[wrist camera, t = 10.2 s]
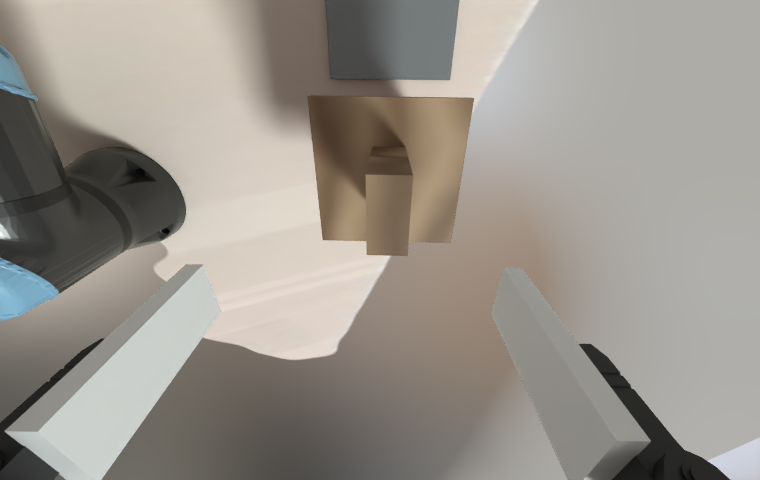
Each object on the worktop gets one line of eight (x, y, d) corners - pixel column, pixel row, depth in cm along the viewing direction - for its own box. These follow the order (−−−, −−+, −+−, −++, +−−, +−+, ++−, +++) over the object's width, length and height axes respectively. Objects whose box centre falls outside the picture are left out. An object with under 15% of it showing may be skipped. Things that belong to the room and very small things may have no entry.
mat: (331, 78, 35) (330, 78, 35) (320, -94, 28) (319, -97, 27) (449, 80, 35) (449, 79, 34) (469, -93, 28) (470, -97, 27)
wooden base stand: (325, 234, 31) (299, 294, 22) (311, 95, 24) (266, 102, 15) (448, 237, 31) (472, 299, 22) (470, 97, 24) (518, 105, 15)
